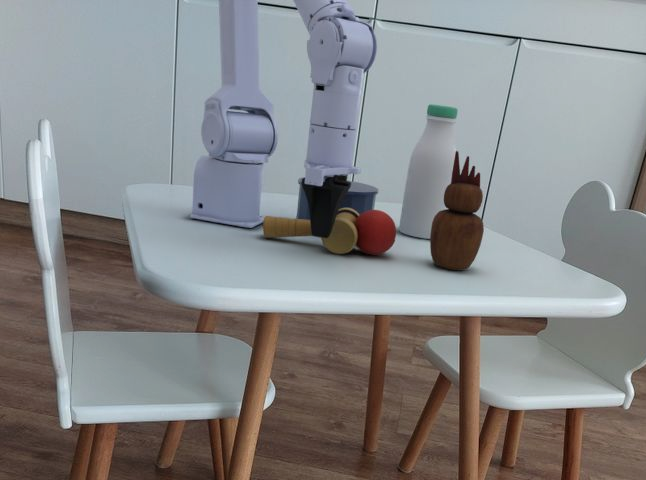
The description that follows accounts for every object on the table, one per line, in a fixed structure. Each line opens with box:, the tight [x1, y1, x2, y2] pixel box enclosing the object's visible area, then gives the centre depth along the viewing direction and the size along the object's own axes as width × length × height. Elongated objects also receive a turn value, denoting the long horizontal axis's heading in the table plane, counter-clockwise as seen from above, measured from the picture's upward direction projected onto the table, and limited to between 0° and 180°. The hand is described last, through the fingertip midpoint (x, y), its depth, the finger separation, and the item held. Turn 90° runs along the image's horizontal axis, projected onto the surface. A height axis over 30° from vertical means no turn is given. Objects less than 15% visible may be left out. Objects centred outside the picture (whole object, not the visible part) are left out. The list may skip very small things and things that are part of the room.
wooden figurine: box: [429, 150, 485, 271], centre depth 90 cm, size 7×6×15 cm
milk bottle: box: [398, 103, 458, 240], centre depth 108 cm, size 8×8×20 cm
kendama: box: [262, 208, 397, 256], centre depth 93 cm, size 8×6×18 cm
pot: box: [295, 184, 377, 220], centre depth 104 cm, size 11×11×6 cm
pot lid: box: [297, 174, 379, 196], centre depth 103 cm, size 12×12×4 cm
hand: (320, 236), depth 88 cm, fingers closed
